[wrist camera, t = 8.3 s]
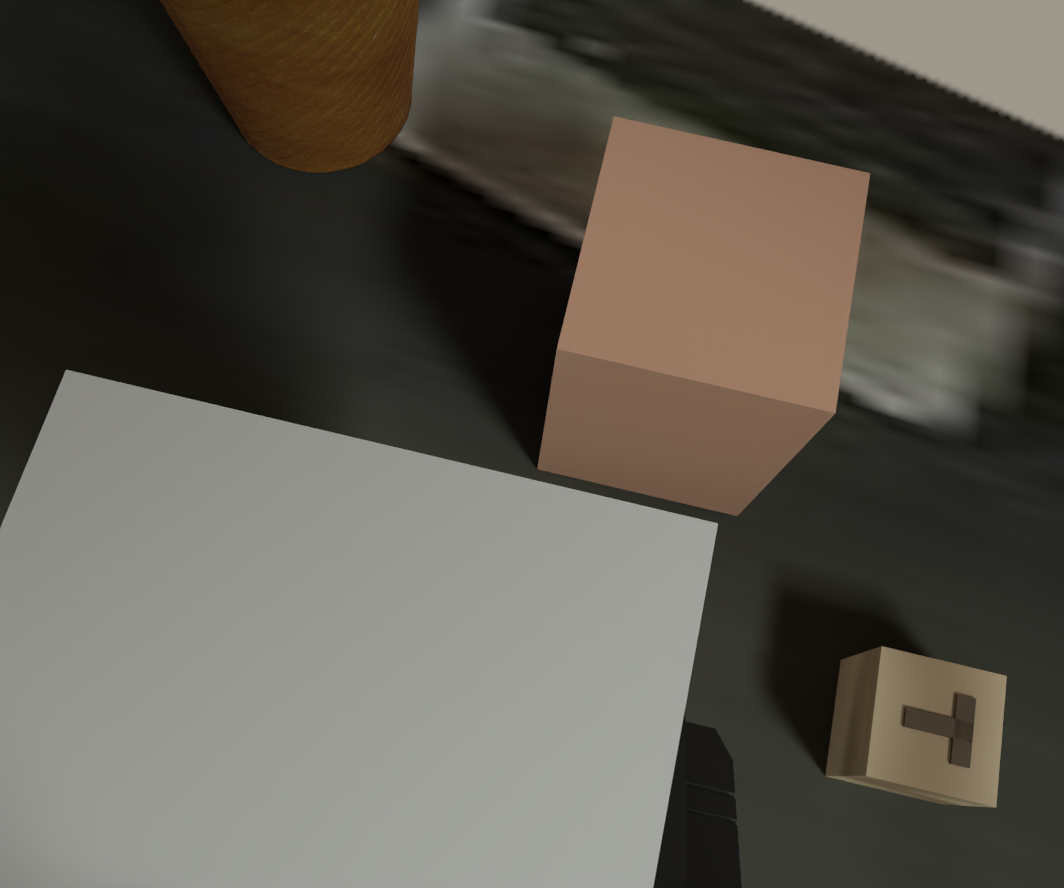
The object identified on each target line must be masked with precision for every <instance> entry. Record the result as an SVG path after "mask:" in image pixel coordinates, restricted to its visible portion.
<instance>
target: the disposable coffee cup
mask: <svg viewBox="0 0 1064 888" xmlns="http://www.w3.org/2000/svg"><path fill="white" fill-rule="evenodd" d="M160 2H161V3H162V4H163V5H164V6H165V10H166V12H167V13H168V14H169V16H170V17H171V19H172V20H173V22H174V25H175V26H176V28H177V29H178V31H179V32H180V33H181V34H182V38H183V39H184V41H185V42H186V43H187V45H188V46H189V47H190V51H191V52H192V54H193V55H194V56H195V58H196V59H197V60H198V63H199V66H200V67H201V68H202V70H203V71H204V72H205V75H206V76H207V78H208V79H209V81H210V82H211V84H212V85H213V88H214V89H215V91H216V92H217V94H218V95H219V96H220V99H221V101H222V102H223V104H224V105H225V106H226V109H227V110H228V112H229V114H230V115H231V117H232V118H233V120H234V122H235V123H236V125H237V126H238V128H239V131H240V133H241V134H242V135H243V137H244V138H245V139H246V141H247V142H248V143H249V145H250V146H252V147H253V148H254V149H255V150H257V151H258V152H259V153H260V154H261V155H263V156H264V157H265V158H267V159H269V160H271V161H272V162H274V163H276V164H278V165H281V166H284V167H287V168H290V169H293V170H299V171H305V172H333V171H337V170H342V169H347V168H351V167H354V166H356V165H359V164H362V163H364V162H366V161H367V160H369V159H371V158H372V157H374V156H375V155H377V154H379V153H380V152H382V151H383V150H384V149H385V148H386V147H387V146H388V145H389V144H390V143H391V142H392V141H394V139H395V138H396V137H397V135H398V134H399V133H400V131H401V130H402V128H403V126H404V124H405V122H406V120H407V117H408V115H409V110H410V106H411V99H412V80H413V68H414V55H415V43H416V31H417V23H418V7H419V0H160Z"/></svg>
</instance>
